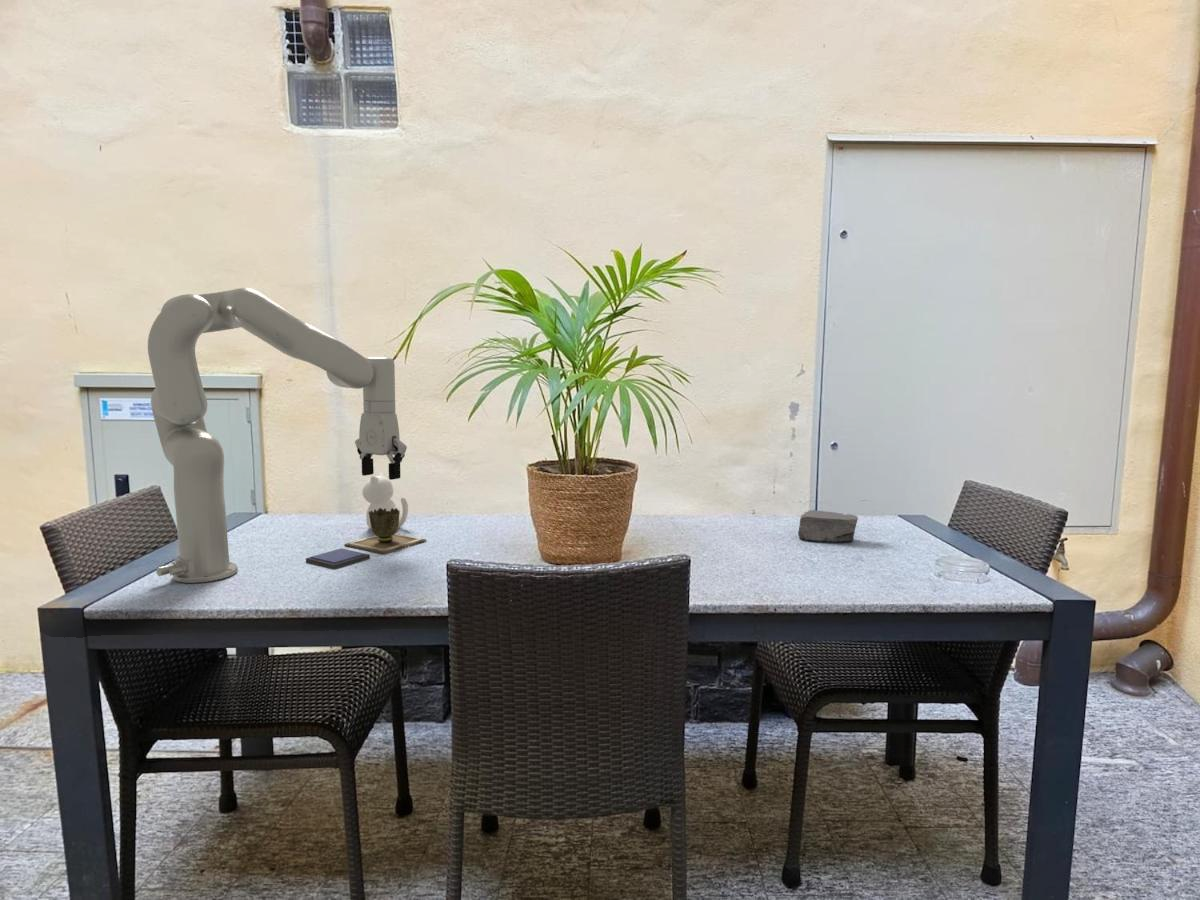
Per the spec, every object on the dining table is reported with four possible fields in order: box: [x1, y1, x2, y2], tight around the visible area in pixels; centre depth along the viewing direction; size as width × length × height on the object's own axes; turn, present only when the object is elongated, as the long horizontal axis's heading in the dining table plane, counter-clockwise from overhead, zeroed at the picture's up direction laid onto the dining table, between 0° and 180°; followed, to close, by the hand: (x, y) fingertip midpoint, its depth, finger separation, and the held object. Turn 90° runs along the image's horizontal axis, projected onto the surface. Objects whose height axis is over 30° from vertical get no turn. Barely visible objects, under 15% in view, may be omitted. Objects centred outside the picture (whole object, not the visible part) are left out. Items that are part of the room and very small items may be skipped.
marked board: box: [344, 533, 427, 555], centre depth 194 cm, size 14×14×1 cm
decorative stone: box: [797, 509, 859, 544], centre depth 196 cm, size 15×7×10 cm
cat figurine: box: [362, 471, 409, 530], centre depth 209 cm, size 9×12×15 cm
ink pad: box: [305, 548, 371, 570], centre depth 180 cm, size 10×10×1 cm
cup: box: [369, 508, 401, 543], centre depth 193 cm, size 8×7×8 cm
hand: (381, 476), depth 191 cm, fingers open, 9 cm apart
